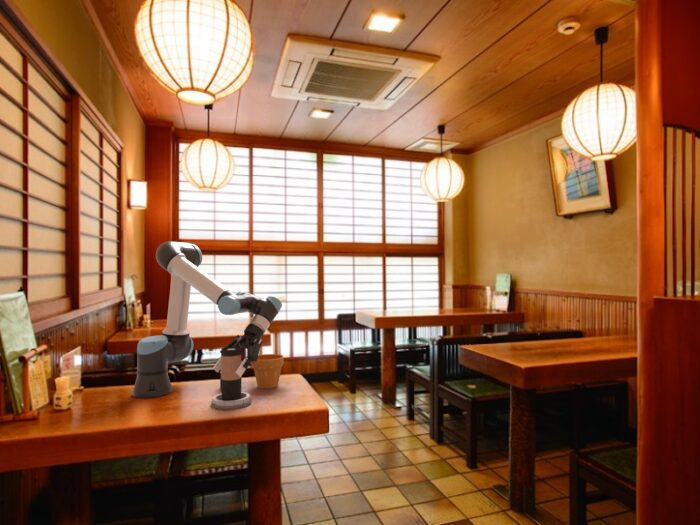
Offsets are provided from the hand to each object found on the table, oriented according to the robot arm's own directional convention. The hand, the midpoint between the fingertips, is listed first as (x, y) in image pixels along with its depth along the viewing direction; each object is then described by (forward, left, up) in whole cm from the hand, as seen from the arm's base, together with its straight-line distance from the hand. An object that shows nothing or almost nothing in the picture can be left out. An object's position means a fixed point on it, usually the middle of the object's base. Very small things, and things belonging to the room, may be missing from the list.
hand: (226, 372), depth 164 cm
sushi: (-14, +21, -13) cm, 29 cm away
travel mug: (+1, +2, -11) cm, 12 cm away
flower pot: (0, +29, -13) cm, 32 cm away
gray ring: (+1, +2, -12) cm, 13 cm away
